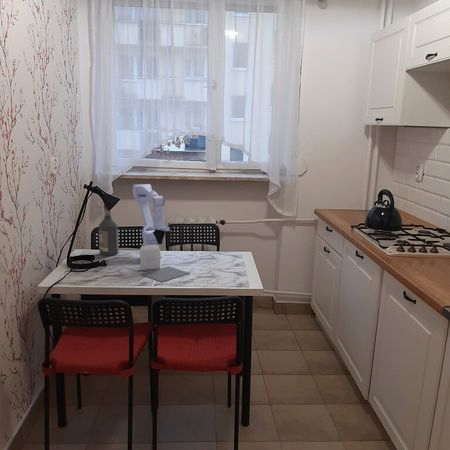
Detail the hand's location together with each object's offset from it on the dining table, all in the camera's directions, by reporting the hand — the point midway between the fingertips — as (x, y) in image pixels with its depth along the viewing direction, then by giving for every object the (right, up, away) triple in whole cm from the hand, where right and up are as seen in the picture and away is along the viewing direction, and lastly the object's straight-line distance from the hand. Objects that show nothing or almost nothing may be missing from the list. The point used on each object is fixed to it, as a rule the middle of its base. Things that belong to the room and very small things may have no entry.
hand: (159, 244), depth 235 cm
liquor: (-32, -7, +18) cm, 37 cm away
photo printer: (-4, -13, -8) cm, 15 cm away
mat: (+5, -14, -15) cm, 21 cm away
